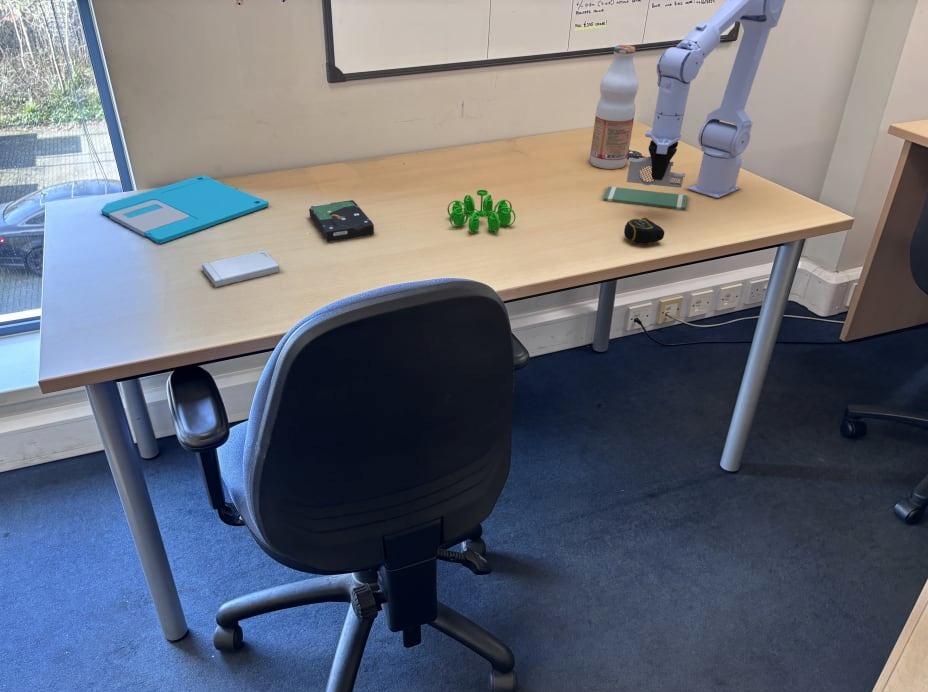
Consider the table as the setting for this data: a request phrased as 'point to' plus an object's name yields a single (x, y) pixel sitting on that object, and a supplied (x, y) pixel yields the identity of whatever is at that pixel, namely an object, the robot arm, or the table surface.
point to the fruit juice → (615, 111)
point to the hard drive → (240, 268)
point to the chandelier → (481, 213)
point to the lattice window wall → (635, 174)
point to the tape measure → (643, 231)
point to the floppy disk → (181, 208)
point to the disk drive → (341, 221)
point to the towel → (646, 198)
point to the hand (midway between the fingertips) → (657, 177)
